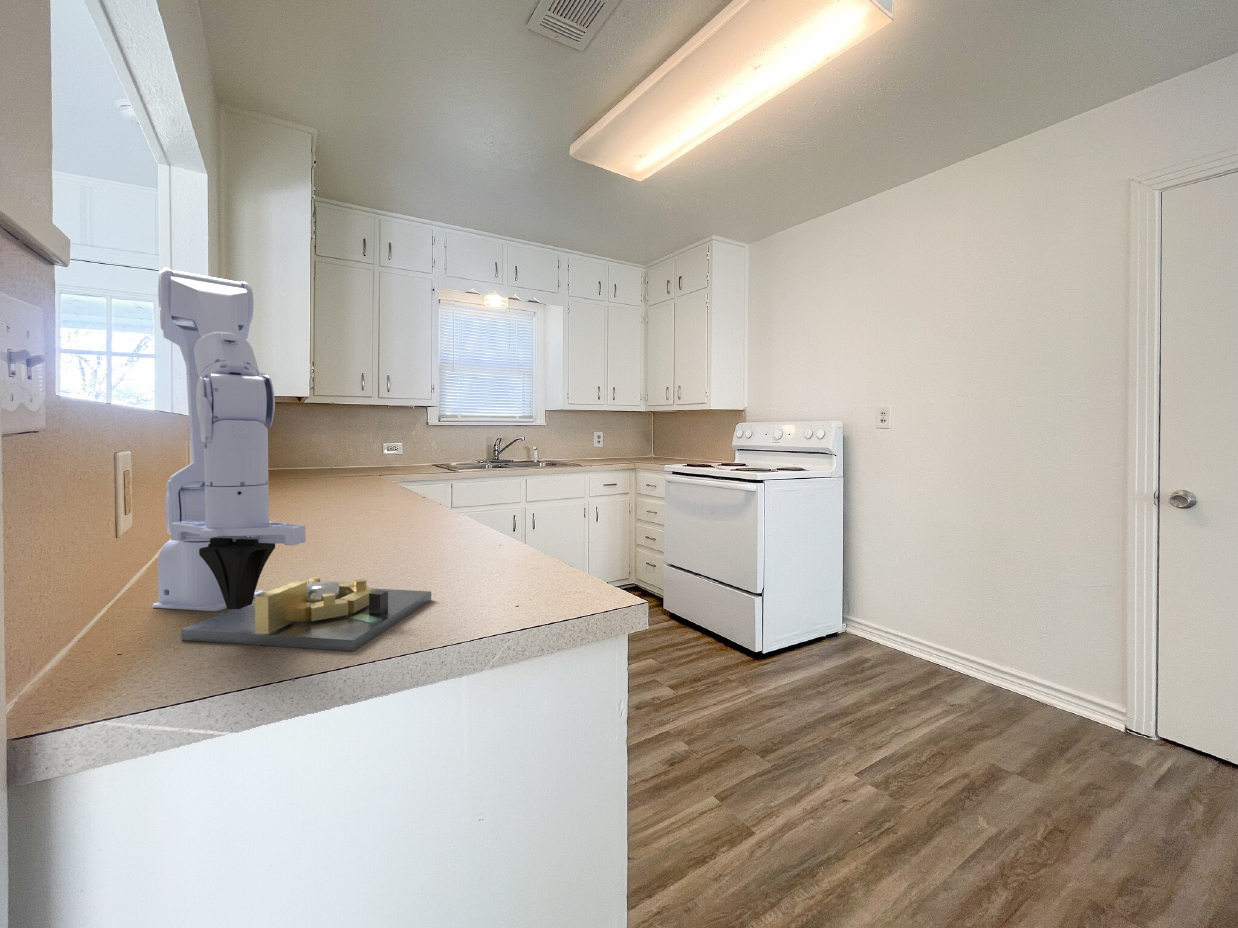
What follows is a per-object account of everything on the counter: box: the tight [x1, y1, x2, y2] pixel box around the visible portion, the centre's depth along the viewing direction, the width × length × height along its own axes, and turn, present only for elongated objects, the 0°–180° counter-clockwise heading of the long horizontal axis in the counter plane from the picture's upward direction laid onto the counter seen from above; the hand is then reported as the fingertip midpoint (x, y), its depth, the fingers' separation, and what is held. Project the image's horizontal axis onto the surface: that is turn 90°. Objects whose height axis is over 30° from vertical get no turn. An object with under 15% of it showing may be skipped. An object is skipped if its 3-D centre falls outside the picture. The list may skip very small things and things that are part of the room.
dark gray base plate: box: [180, 580, 432, 652], centre depth 66 cm, size 20×18×4 cm
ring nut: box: [254, 575, 372, 634], centre depth 64 cm, size 15×11×4 cm
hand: (239, 606), depth 59 cm, fingers closed
